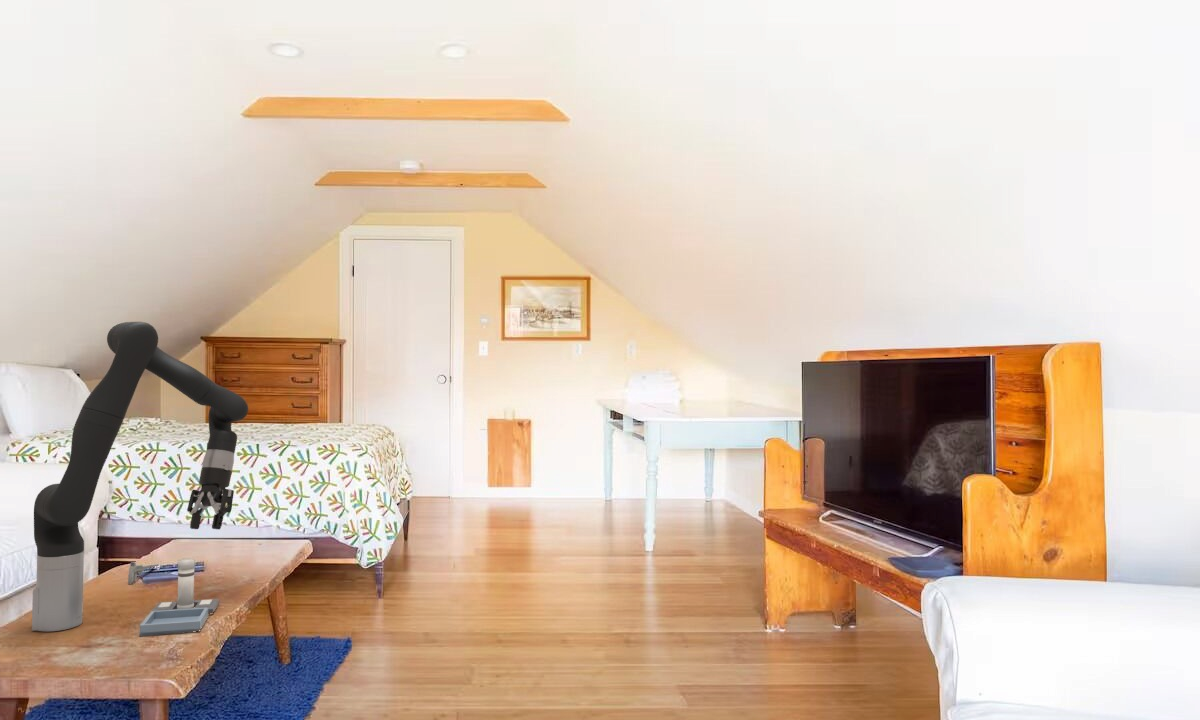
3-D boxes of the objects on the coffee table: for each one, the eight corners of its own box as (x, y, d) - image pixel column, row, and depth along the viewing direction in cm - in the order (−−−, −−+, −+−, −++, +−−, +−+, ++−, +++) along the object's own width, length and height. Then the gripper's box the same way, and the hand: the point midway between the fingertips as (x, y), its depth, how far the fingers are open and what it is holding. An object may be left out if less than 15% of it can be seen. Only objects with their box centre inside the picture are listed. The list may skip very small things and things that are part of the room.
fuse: (175, 614, 199) (176, 562, 199) (178, 609, 203) (179, 558, 203) (192, 613, 200) (193, 561, 200) (195, 608, 204) (196, 557, 204)
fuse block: (149, 619, 195) (150, 610, 195) (158, 608, 204) (158, 600, 204) (212, 614, 199) (213, 606, 199) (218, 604, 208) (218, 596, 208)
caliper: (132, 585, 224) (132, 563, 224) (127, 585, 224) (128, 563, 224) (160, 567, 244) (160, 547, 244) (156, 567, 244) (156, 547, 244)
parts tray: (139, 636, 183) (139, 625, 183) (151, 621, 193) (151, 611, 193) (200, 632, 186) (200, 621, 186) (208, 617, 197) (208, 607, 197)
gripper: (187, 466, 217) (174, 527, 212) (223, 464, 211) (211, 527, 206) (211, 471, 223) (199, 530, 218) (246, 470, 217) (235, 530, 212)
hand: (205, 529), depth 212 cm, fingers open, 8 cm apart
